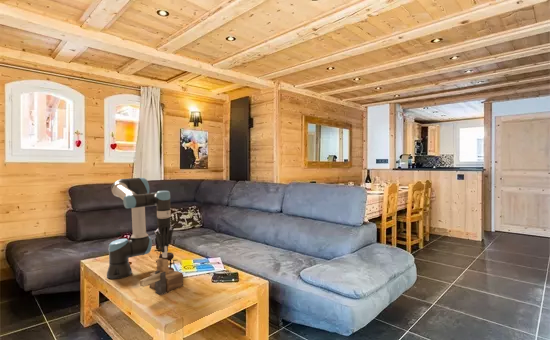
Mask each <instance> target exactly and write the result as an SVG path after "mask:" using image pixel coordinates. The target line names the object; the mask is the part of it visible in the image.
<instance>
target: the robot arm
mask: <svg viewBox="0 0 550 340" xmlns="http://www.w3.org/2000/svg"><path fill="white" fill-rule="evenodd" d="M110 190H111V194H112V195H113V196H114V197H117V198H119V199H121V200H122V201H123V206H124V208H125V209H131V220H132V221H131V223H132V224H131V225H132V227H131V228H132V234H131V236H130V237H129V239H130V240H129V239H128V238H118V239H116V240H112V241H111V242H110V243H109V244H108V261H109V262H108V264H109V265H108V267H107V272H106V278H107V279H109V278H110V280H117V279H124V278H126V277H129V276H131V275H132V273H133V272H132V271H133V270H132V267H131V264H130V262H129V261H130V260H129V258H133V257H134V258H135V257H139V256H145V255H148V254H150V253H151V251H152V248H153V241H152V237H150V236H149V234H148V233H147V227H146V207H154V206H156V224H157V229H156V230H154V231H153V234H154V235H155V240H156V243H157V247H159V248H161V254H162V257H163V258H167V252H168V251H169V247H170V245H171V243H172V239H173V238H172V237H173V233H174V230H175V227H173V226H172V225H171V223H172V222H171V221H172V220H171V219H172V218H171V192H170V191H169V190H158V191H157V192H156V191H155V192H151V193H150V184H149V181H148V180H147V179H146V178H145V177H130V178H120V179H117V180H116V181H114V182H113V183H112V185H111V187H110Z"/></svg>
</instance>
